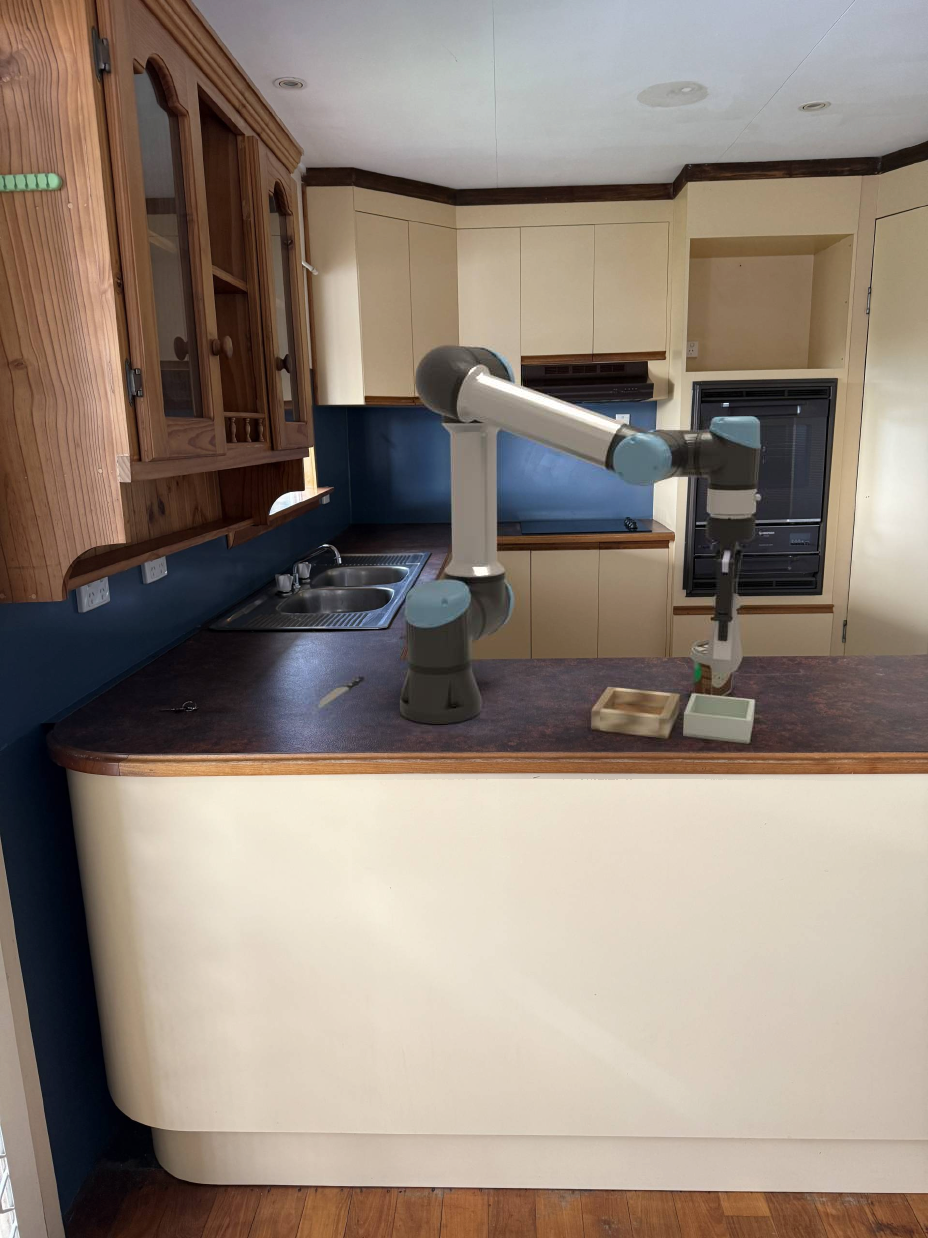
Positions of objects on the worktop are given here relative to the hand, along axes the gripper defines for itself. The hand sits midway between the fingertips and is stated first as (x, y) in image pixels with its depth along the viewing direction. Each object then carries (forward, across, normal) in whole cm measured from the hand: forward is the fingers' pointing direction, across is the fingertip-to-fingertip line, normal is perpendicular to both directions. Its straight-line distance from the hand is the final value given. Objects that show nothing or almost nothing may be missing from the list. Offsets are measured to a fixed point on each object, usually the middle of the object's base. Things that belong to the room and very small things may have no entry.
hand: (723, 653), depth 140 cm
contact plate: (+14, -1, +14) cm, 20 cm away
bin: (+13, 0, 0) cm, 13 cm away
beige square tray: (+13, -1, +14) cm, 20 cm away
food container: (+14, +17, +4) cm, 22 cm away
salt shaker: (+3, 0, 0) cm, 3 cm away
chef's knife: (+14, -5, +73) cm, 74 cm away
